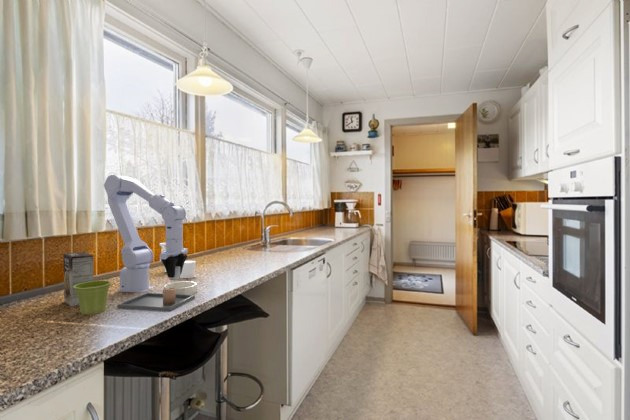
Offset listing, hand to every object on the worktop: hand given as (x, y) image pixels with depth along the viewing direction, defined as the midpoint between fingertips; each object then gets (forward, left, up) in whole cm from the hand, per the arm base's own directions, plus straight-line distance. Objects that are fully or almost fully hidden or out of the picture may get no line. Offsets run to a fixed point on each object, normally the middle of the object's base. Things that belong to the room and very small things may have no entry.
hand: (174, 275), depth 123 cm
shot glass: (-10, +25, -7) cm, 28 cm away
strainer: (-25, +33, -6) cm, 42 cm away
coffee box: (-25, -16, -7) cm, 30 cm away
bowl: (+2, 0, -6) cm, 7 cm away
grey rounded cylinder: (0, 0, -1) cm, 1 cm away
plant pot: (-12, -24, -7) cm, 27 cm away
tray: (+2, -13, -6) cm, 15 cm away
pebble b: (+6, -13, -6) cm, 16 cm away
